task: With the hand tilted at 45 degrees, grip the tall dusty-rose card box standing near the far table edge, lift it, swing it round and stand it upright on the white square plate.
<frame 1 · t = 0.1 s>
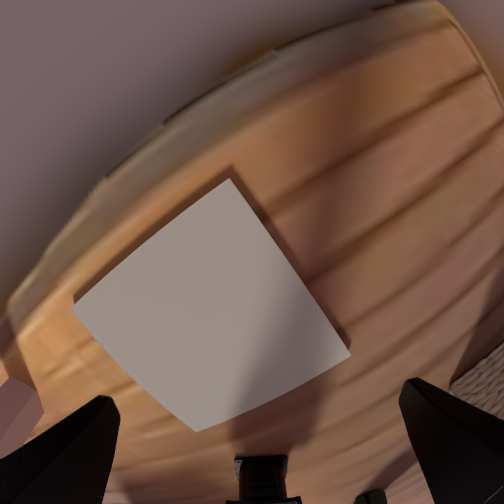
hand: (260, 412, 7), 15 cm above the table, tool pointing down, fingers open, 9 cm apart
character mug: (368, 494, 35), on the table
rose card box: (27, 394, 26), on the table
white square plate: (206, 335, 23), on the table
storage basket: (475, 399, 29), on the table
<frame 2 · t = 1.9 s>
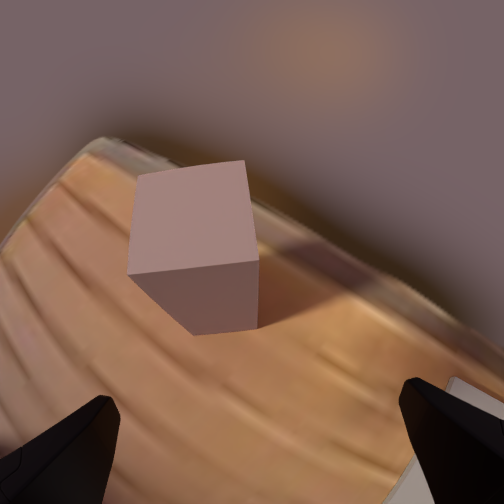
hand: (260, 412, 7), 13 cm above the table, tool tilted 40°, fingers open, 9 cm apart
rose card box: (222, 302, 22), on the table
white square plate: (464, 485, 13), on the table
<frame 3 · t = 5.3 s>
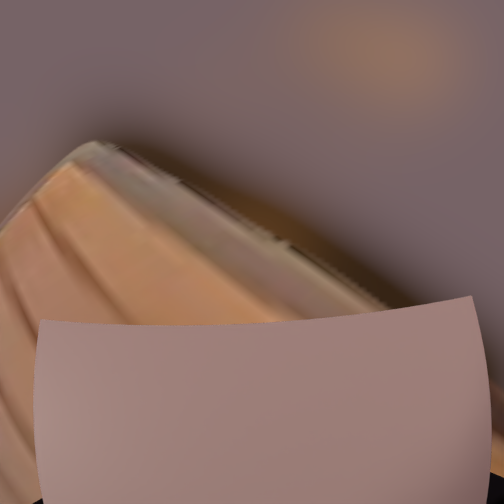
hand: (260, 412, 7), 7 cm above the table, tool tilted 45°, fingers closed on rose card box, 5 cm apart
rose card box: (260, 430, 12), on the table, touching gripper
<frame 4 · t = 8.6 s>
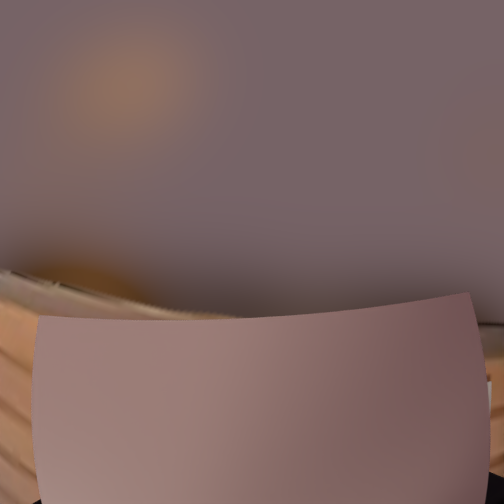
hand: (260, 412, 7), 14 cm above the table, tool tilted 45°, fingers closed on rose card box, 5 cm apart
rose card box: (259, 430, 12), point 7 cm above the table, touching gripper
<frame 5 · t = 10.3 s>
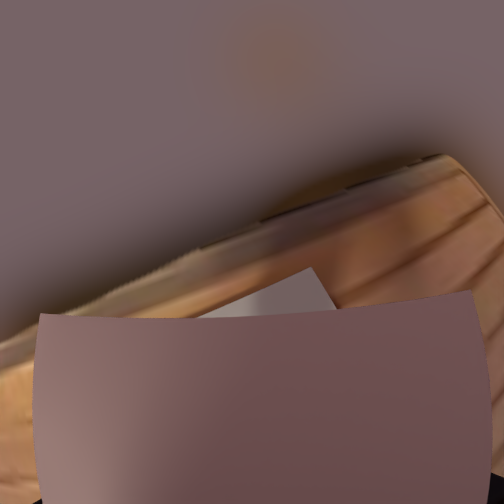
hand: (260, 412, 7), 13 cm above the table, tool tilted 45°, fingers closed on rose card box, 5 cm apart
rose card box: (260, 429, 12), point 7 cm above the table, touching gripper
white square plate: (259, 419, 18), on the table
when the fingers open (9 cm above the table, at t = 12.0 s): rose card box drops 1 cm, resting on white square plate.
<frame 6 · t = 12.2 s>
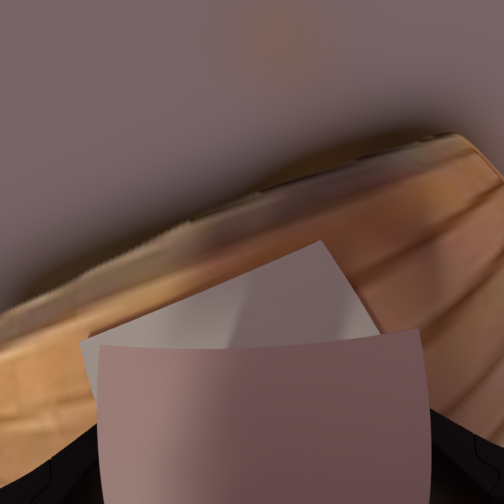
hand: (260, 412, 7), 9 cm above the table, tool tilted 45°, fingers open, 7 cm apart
rose card box: (260, 427, 13), point 1 cm above the table, touching white square plate
white square plate: (260, 426, 14), on the table
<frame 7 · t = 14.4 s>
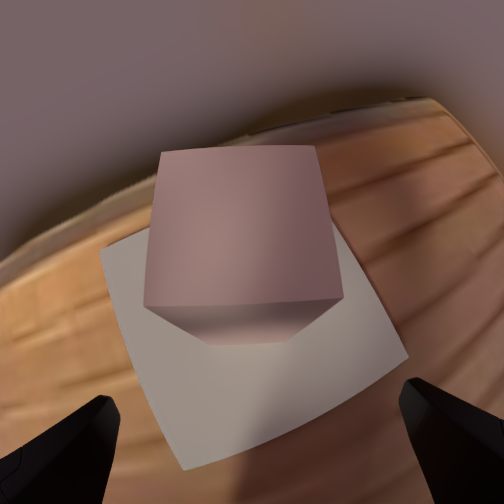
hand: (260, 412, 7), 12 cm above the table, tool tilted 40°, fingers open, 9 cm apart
rose card box: (245, 307, 19), point 1 cm above the table, touching white square plate
white square plate: (246, 310, 20), on the table
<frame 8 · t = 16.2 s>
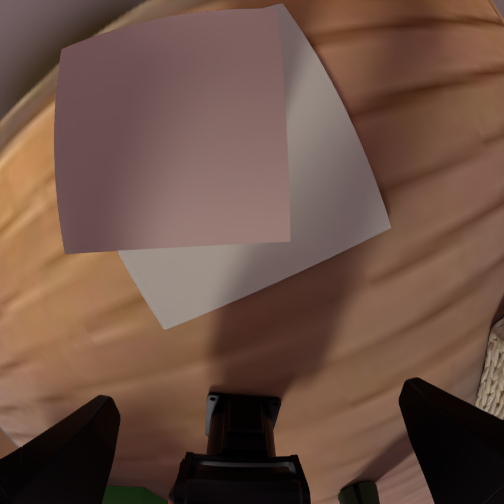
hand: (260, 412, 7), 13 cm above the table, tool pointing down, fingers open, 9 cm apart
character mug: (355, 487, 30), on the table
rose card box: (216, 157, 17), point 1 cm above the table, touching white square plate
white square plate: (217, 158, 18), on the table
hardback book: (121, 494, 31), on the table
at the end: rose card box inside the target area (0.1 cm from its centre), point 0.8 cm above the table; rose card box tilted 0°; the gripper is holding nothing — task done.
